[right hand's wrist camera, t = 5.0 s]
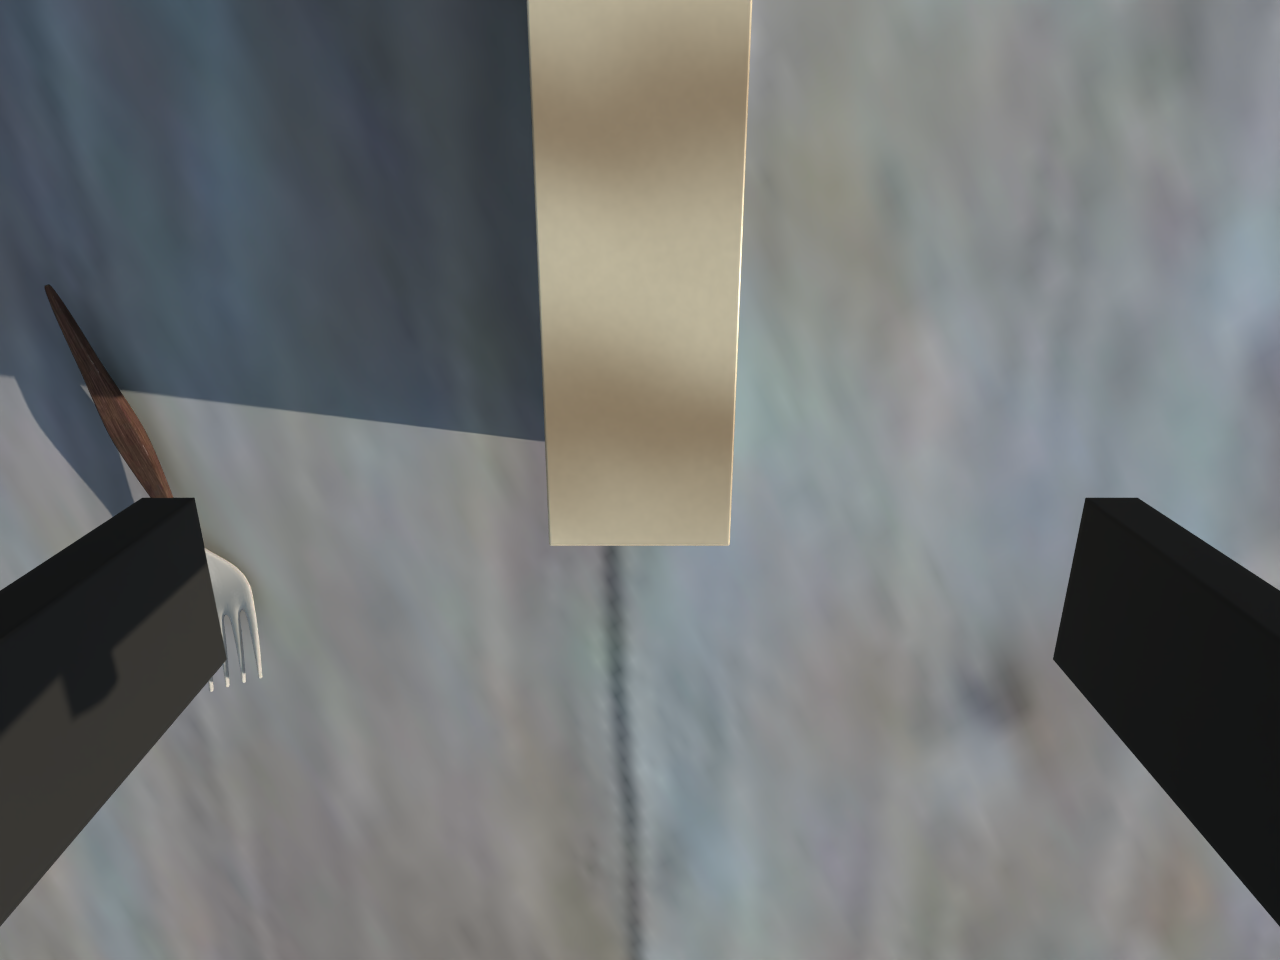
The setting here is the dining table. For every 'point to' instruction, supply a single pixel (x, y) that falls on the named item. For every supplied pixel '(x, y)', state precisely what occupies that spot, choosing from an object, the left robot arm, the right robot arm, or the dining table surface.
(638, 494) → the birch rail
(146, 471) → the fork
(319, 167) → the dining table surface
